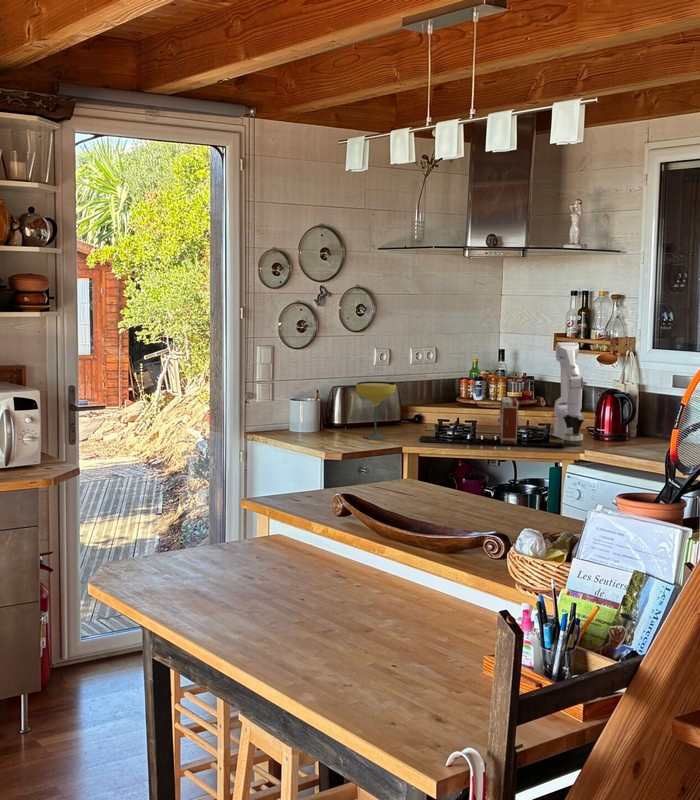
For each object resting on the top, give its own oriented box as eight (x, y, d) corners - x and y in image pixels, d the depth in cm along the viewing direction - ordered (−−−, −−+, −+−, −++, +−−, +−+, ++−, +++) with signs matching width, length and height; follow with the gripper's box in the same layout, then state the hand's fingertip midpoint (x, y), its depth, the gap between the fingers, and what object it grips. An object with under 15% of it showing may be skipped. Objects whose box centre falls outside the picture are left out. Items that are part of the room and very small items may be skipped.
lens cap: (564, 435, 450) (565, 427, 450) (575, 435, 452) (575, 427, 451) (569, 437, 446) (570, 429, 445) (580, 437, 447) (580, 429, 446)
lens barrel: (558, 442, 452) (558, 433, 452) (576, 442, 455) (577, 432, 454) (567, 446, 444) (568, 436, 443) (586, 445, 446) (586, 435, 445)
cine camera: (516, 438, 464) (518, 395, 461) (519, 445, 445) (520, 400, 442) (496, 437, 465) (497, 394, 462) (498, 445, 446) (499, 400, 443)
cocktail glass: (388, 433, 472) (389, 380, 469) (400, 440, 455) (400, 385, 452) (351, 435, 468) (351, 381, 464) (361, 441, 450) (362, 386, 447)
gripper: (558, 401, 452) (557, 430, 454) (573, 405, 439) (572, 436, 440) (572, 400, 454) (571, 430, 456) (588, 405, 440) (586, 435, 442)
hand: (572, 433), depth 448 cm, fingers closed on lens cap, 5 cm apart
